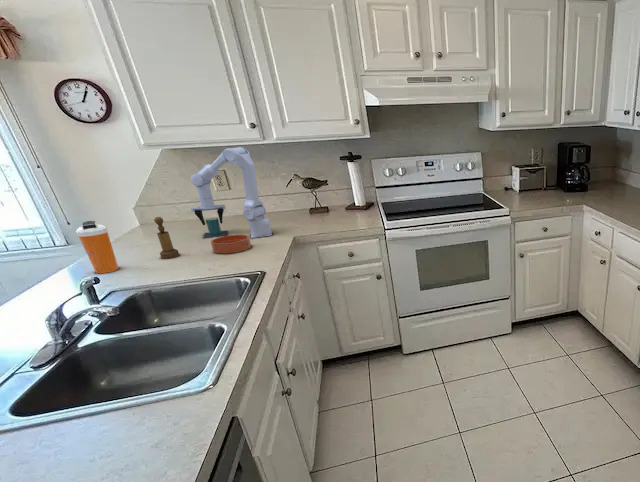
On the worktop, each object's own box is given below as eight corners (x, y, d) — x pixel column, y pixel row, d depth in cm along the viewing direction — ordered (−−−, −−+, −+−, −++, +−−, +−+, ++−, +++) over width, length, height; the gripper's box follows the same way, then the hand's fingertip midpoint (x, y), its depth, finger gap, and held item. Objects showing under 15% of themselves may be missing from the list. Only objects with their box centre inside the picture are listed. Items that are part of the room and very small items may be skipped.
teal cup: (222, 232, 220) (218, 217, 217) (221, 234, 215) (217, 219, 212) (210, 233, 218) (206, 218, 215) (208, 235, 213) (204, 220, 210)
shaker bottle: (119, 265, 174) (101, 218, 166) (124, 269, 168) (106, 222, 161) (90, 270, 167) (71, 223, 160) (94, 276, 162) (74, 226, 154)
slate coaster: (227, 231, 223) (226, 230, 223) (226, 235, 215) (226, 234, 215) (205, 233, 218) (204, 233, 218) (203, 238, 210) (203, 237, 210)
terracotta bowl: (251, 242, 203) (248, 232, 201) (251, 251, 191) (249, 240, 189) (214, 247, 196) (211, 237, 194) (213, 256, 184) (210, 245, 182)
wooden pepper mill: (158, 259, 180) (144, 219, 173) (165, 255, 186) (152, 215, 179) (175, 258, 181) (163, 218, 175) (182, 253, 187) (170, 214, 180)
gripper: (187, 200, 203) (194, 227, 208) (221, 198, 209) (228, 224, 214) (189, 198, 209) (197, 224, 214) (223, 195, 215) (229, 221, 220)
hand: (212, 223), depth 214 cm, fingers open, 7 cm apart
